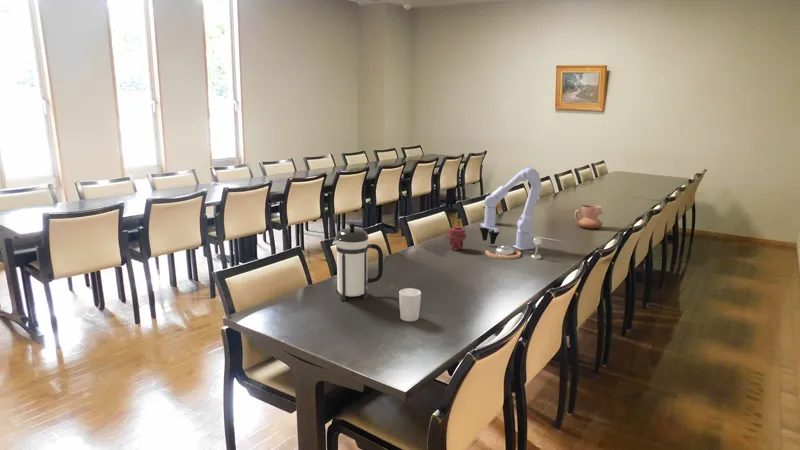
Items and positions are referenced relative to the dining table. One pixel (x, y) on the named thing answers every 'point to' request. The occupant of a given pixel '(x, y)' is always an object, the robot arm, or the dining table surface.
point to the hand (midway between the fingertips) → (488, 242)
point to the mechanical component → (456, 237)
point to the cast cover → (504, 250)
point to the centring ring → (504, 256)
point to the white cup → (409, 304)
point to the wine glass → (537, 243)
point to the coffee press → (354, 262)
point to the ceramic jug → (589, 216)
